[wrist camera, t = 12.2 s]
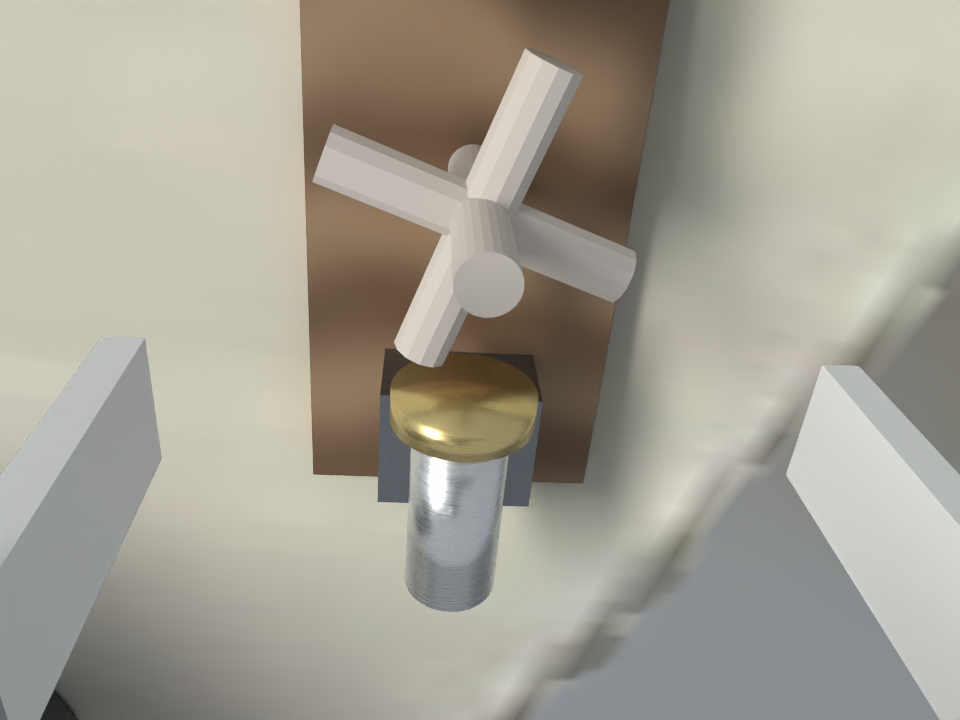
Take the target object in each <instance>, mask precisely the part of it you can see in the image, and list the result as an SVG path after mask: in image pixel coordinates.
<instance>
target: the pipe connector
mask: <svg viewBox="0 0 960 720" xmlns="http://www.w3.org/2000/svg"><path fill="white" fill-rule="evenodd" d="M582 77H583V75H582V74H581V73H580V72H578V71H577V70H575V69H574V68H572V67H570V66H568V65H567V64H565V63H563V62H561V61H559V60H557V59H555V58H553V57H551V56H549V55H547V54H545V53H542V52H540V51H538V50H535V49H532V48H529V47H527V48H525V50H524V52H523V54H522V56H521V59H520V61H519V63H518V65H517V68H516V70H515V72H514V74H513V77H512V79H511V81H510V83H509V86H508V88H507V90H506V92H505V95H504V97H503V99H502V101H501V104H500V106H499V108H498V110H497V112H496V115H495V117H494V119H493V121H492V124H491V126H490V128H489V130H488V133H487V135H486V137H485V139H484V142H483V144H482V146H481V145H477V144H470V145H466V146H463V147H461V148H459V149H458V150H457V151H456V152H455V153H454V154H453V155H452V157H451V158H450V160H449V164H448V172H446V171H444V170H441V169H439V168H437V167H434V166H432V165H430V164H427V163H425V162H422V161H420V160H418V159H415V158H413V157H411V156H408V155H406V154H403V153H401V152H399V151H396V150H394V149H392V148H389V147H387V146H385V145H382V144H380V143H377V142H375V141H373V140H370V139H368V138H366V137H363V136H361V135H358V134H356V133H354V132H351V131H349V130H347V129H344V128H342V127H339V126H337V125H335V124H333V126H332V128H331V131H330V133H329V136H328V139H327V142H326V144H325V147H324V150H323V152H322V155H321V158H320V161H319V164H318V166H317V169H316V172H315V175H314V178H313V181H312V182H314V183H316V184H319V185H321V186H324V187H326V188H329V189H331V190H334V191H336V192H339V193H341V194H343V195H346V196H348V197H351V198H353V199H356V200H358V201H361V202H363V203H366V204H368V205H371V206H373V207H376V208H378V209H381V210H383V211H386V212H388V213H391V214H393V215H396V216H398V217H401V218H403V219H406V220H408V221H411V222H413V223H416V224H418V225H421V226H423V227H426V228H428V229H431V230H433V231H436V232H438V233H441V234H442V236H441V238H440V240H439V242H438V245H437V247H436V249H435V251H434V254H433V256H432V258H431V260H430V263H429V265H428V267H427V269H426V271H425V274H424V276H423V278H422V280H421V283H420V285H419V287H418V289H417V292H416V294H415V296H414V298H413V301H412V303H411V305H410V307H409V310H408V312H407V314H406V316H405V319H404V321H403V323H402V325H401V327H400V330H399V332H398V334H397V336H396V339H395V341H394V343H395V346H396V348H397V350H398V351H399V352H400V353H401V354H402V355H403V356H404V357H406V358H407V359H409V360H411V361H413V362H415V363H417V364H419V365H423V366H427V367H432V368H433V367H438V366H442V365H443V363H444V361H445V359H446V357H447V355H448V353H449V351H450V349H451V347H452V345H453V343H454V341H455V339H456V337H457V335H458V333H459V331H460V328H461V326H462V324H463V322H464V320H465V318H466V316H467V314H468V313H470V314H472V315H474V316H478V317H482V318H493V317H497V316H501V315H503V314H505V313H507V312H509V311H510V310H512V309H513V308H514V307H515V306H516V305H517V304H518V302H519V301H520V299H521V297H522V295H523V292H524V277H523V273H522V268H521V266H523V267H525V268H528V269H530V270H533V271H535V272H538V273H540V274H543V275H545V276H548V277H550V278H553V279H555V280H558V281H560V282H563V283H565V284H568V285H570V286H573V287H575V288H578V289H580V290H583V291H585V292H588V293H590V294H593V295H595V296H598V297H600V298H603V299H605V300H608V301H610V302H614V301H616V300H618V299H619V298H620V297H621V296H622V295H623V293H624V292H625V290H626V289H627V288H628V286H629V283H630V281H631V279H632V277H633V275H634V271H635V266H636V262H637V258H636V251H633V250H631V249H629V248H626V247H624V246H621V245H619V244H617V243H614V242H612V241H610V240H607V239H605V238H603V237H600V236H598V235H595V234H593V233H591V232H588V231H586V230H584V229H581V228H579V227H576V226H574V225H572V224H569V223H567V222H565V221H562V220H560V219H558V218H555V217H553V216H550V215H548V214H546V213H543V212H541V211H539V210H536V209H534V208H531V207H529V206H527V205H524V204H522V201H523V199H524V197H525V195H526V193H527V191H528V189H529V187H530V184H531V182H532V180H533V178H534V176H535V174H536V172H537V170H538V168H539V166H540V164H541V162H542V160H543V158H544V156H545V154H546V152H547V149H548V147H549V145H550V143H551V141H552V139H553V137H554V135H555V133H556V131H557V129H558V127H559V125H560V123H561V121H562V119H563V117H564V115H565V112H566V110H567V108H568V106H569V104H570V102H571V100H572V98H573V96H574V94H575V92H576V90H577V88H578V86H579V84H580V82H581V80H582Z"/></svg>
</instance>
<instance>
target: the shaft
mask: <svg viewBox="0 0 960 720" xmlns="http://www.w3.org/2000/svg"><path fill="white" fill-rule="evenodd" d="M542 404H543V400H542V396H541V391H540V386H539V381H538V376H537V371H536V367H535V362H534V357H533V355H520V354H498V353H476V352H454V351H449V353H448V355H447V357H446V359H445V361H444V363H443V365H442V366H438V367H433V368H432V367H427V366H423V365H419V364H417V363H415V362H413V361H411V360H409V359H407V358H406V357H404V356H403V355H402V354H401V353H400V352H399V351H398V350H397V349H389V348H385V355H384V364H383V373H382V382H381V391H380V422H379V470H378V502H400V503H408V520H407V542H406V565H405V582H406V586H407V588H408V590H409V592H410V594H411V595H412V596H413V597H414V598H415V599H416V600H417V601H419V602H420V603H421V604H423V605H425V606H427V607H430V608H432V609H435V610H440V611H448V612H456V611H463V610H467V609H470V608H473V607H475V606H477V605H479V604H480V603H482V602H483V601H484V600H485V599H486V598H487V597H488V596H489V594H490V592H491V590H492V588H493V583H494V575H495V566H496V558H497V550H498V541H499V533H500V524H501V516H502V507H503V506H528V505H529V498H530V490H531V483H532V476H533V469H534V462H535V454H536V447H537V440H538V433H539V426H540V418H541V411H542Z"/></svg>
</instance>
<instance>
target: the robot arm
mask: <svg viewBox="0 0 960 720" xmlns="http://www.w3.org/2000/svg"><path fill="white" fill-rule="evenodd" d="M161 459H162V458H161V450H160V443H159V436H158V429H157V422H156V415H155V407H154V400H153V393H152V386H151V379H150V372H149V364H148V357H147V350H146V343H145V338H128V337H103V336H102V337H101V339H100V340H99V341H98V343H97V344H96V345H95V347H94V348H93V349H92V351H91V352H90V354H89V355H88V356H87V358H86V359H85V360H84V362H83V363H82V365H81V366H80V367H79V369H78V370H77V371H76V373H75V374H74V375H73V377H72V378H71V380H70V381H69V382H68V384H67V385H66V386H65V388H64V389H63V391H62V392H61V393H60V395H59V396H58V397H57V399H56V400H55V401H54V403H53V404H52V406H51V407H50V408H49V410H48V411H47V412H46V414H45V415H44V417H43V418H42V419H41V421H40V422H39V423H38V425H37V426H36V427H35V429H34V430H33V432H32V433H31V434H30V436H29V437H28V438H27V440H26V441H25V443H24V444H23V445H22V447H21V448H20V449H19V451H18V452H17V453H16V455H15V456H14V458H13V459H12V460H11V462H10V463H9V464H8V466H7V467H6V469H5V470H4V471H3V473H2V474H1V475H0V720H76V719H75V718H74V716H73V714H72V713H71V711H70V710H69V709H68V707H67V706H66V705H65V704H64V703H63V701H62V700H61V699H60V698H59V697H58V696H57V695H56V694H54V693H53V691H54V689H55V686H56V684H57V682H58V680H59V678H60V676H61V674H62V671H63V669H64V667H65V665H66V663H67V661H68V659H69V656H70V654H71V652H72V650H73V648H74V646H75V644H76V641H77V639H78V637H79V635H80V633H81V631H82V628H83V626H84V624H85V622H86V620H87V618H88V616H89V613H90V611H91V609H92V607H93V605H94V603H95V601H96V598H97V596H98V594H99V592H100V590H101V588H102V586H103V583H104V581H105V579H106V577H107V575H108V573H109V571H110V568H111V566H112V564H113V562H114V560H115V558H116V555H117V553H118V551H119V549H120V547H121V545H122V543H123V540H124V538H125V536H126V534H127V532H128V530H129V528H130V525H131V523H132V521H133V519H134V517H135V515H136V513H137V510H138V508H139V506H140V504H141V502H142V500H143V498H144V495H145V493H146V491H147V489H148V487H149V485H150V482H151V480H152V478H153V476H154V474H155V472H156V470H157V467H158V465H159V463H160V461H161ZM786 475H787V477H788V478H789V480H790V482H791V483H792V485H793V487H794V488H795V490H796V491H797V493H798V494H799V496H800V498H801V499H802V501H803V503H804V504H805V506H806V507H807V509H808V511H809V512H810V514H811V515H812V517H813V518H814V520H815V522H816V523H817V525H818V526H819V528H820V530H821V531H822V533H823V534H824V536H825V537H826V539H827V541H828V542H829V544H830V545H831V547H832V549H833V550H834V552H835V553H836V555H837V556H838V558H839V560H840V561H841V563H842V565H843V566H844V568H845V569H846V571H847V573H848V574H849V576H850V577H851V579H852V581H853V582H854V584H855V585H856V587H857V589H858V590H859V592H860V593H861V595H862V597H863V598H864V600H865V601H866V603H867V605H868V606H869V608H870V609H871V611H872V612H873V614H874V616H875V617H876V619H877V620H878V622H879V624H880V625H881V627H882V628H883V630H884V632H885V633H886V635H887V636H888V638H889V639H890V641H891V643H892V644H893V646H894V648H895V649H896V651H897V652H898V654H899V656H900V657H901V659H902V660H903V662H904V664H905V665H906V667H907V668H908V670H909V671H910V673H911V675H912V676H913V678H914V679H915V681H916V683H917V684H918V686H919V687H920V689H921V690H922V692H923V694H924V695H925V697H926V699H927V700H928V702H929V703H930V705H931V706H932V708H933V710H934V711H935V713H936V714H937V716H938V718H939V719H940V720H960V475H959V474H958V473H957V472H956V471H955V469H954V468H953V467H952V466H951V465H950V464H949V463H948V462H947V461H946V460H945V459H944V458H943V457H942V455H941V454H940V453H939V452H938V451H937V450H936V449H935V448H934V447H933V446H932V445H931V444H930V442H929V441H928V440H927V439H926V438H925V437H924V436H923V435H922V434H921V433H920V432H919V431H918V430H917V428H916V427H915V426H914V425H913V424H912V423H911V422H910V421H909V420H908V419H907V418H906V417H905V416H904V414H903V413H902V412H901V411H900V410H899V409H898V408H897V407H896V406H895V405H894V404H893V403H892V402H891V400H890V399H889V398H888V397H887V396H886V395H885V394H884V393H883V392H882V391H881V390H880V389H879V387H878V386H877V385H876V384H875V383H874V382H873V381H872V380H871V379H870V378H869V377H868V376H867V375H866V373H865V372H864V371H863V370H862V369H861V368H860V367H859V366H842V365H822V367H821V370H820V373H819V376H818V379H817V382H816V385H815V388H814V391H813V394H812V398H811V401H810V404H809V407H808V410H807V413H806V416H805V419H804V422H803V425H802V428H801V431H800V434H799V437H798V440H797V443H796V447H795V450H794V453H793V456H792V459H791V462H790V465H789V468H788V471H787V474H786Z"/></svg>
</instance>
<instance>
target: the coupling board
mask: <svg viewBox="0 0 960 720" xmlns="http://www.w3.org/2000/svg"><path fill="white" fill-rule="evenodd" d="M668 6H669V0H300V28H301V62H302V97H303V131H304V166H305V200H306V235H307V269H308V304H309V338H310V373H311V407H312V442H313V474H317V475H347V476H377V477H378V470H379V422H380V391H381V382H382V373H383V364H384V355H385V348H389V349H397V348H396V346H395V343H394V341H395V339H396V336H397V334H398V332H399V330H400V327H401V325H402V323H403V321H404V319H405V316H406V314H407V312H408V310H409V307H410V305H411V303H412V301H413V298H414V296H415V294H416V292H417V289H418V287H419V285H420V283H421V280H422V278H423V276H424V274H425V271H426V269H427V267H428V265H429V263H430V260H431V258H432V256H433V254H434V251H435V249H436V247H437V245H438V242H439V240H440V238H441V236H442V234H441V233H438V232H436V231H433V230H431V229H428V228H426V227H423V226H421V225H418V224H416V223H413V222H411V221H408V220H406V219H403V218H401V217H398V216H396V215H393V214H391V213H388V212H386V211H383V210H381V209H378V208H376V207H373V206H371V205H368V204H366V203H363V202H361V201H358V200H356V199H353V198H351V197H348V196H346V195H343V194H341V193H339V192H336V191H334V190H331V189H329V188H326V187H324V186H321V185H319V184H316V183H314V182H312V181H313V178H314V175H315V172H316V169H317V166H318V164H319V161H320V158H321V155H322V152H323V150H324V147H325V144H326V142H327V139H328V136H329V133H330V131H331V128H332V126H333V124H335V125H337V126H339V127H342V128H344V129H347V130H349V131H351V132H354V133H356V134H358V135H361V136H363V137H366V138H368V139H370V140H373V141H375V142H377V143H380V144H382V145H385V146H387V147H389V148H392V149H394V150H396V151H399V152H401V153H403V154H406V155H408V156H411V157H413V158H415V159H418V160H420V161H422V162H425V163H427V164H430V165H432V166H434V167H437V168H439V169H441V170H444V171H446V172H448V164H449V160H450V158H451V157H452V155H453V154H454V153H455V152H456V151H457V150H458V149H459V148H461V147H463V146H466V145H470V144H477V145H481V146H482V144H483V142H484V139H485V137H486V135H487V133H488V130H489V128H490V126H491V124H492V121H493V119H494V117H495V115H496V112H497V110H498V108H499V106H500V104H501V101H502V99H503V97H504V95H505V92H506V90H507V88H508V86H509V83H510V81H511V79H512V77H513V74H514V72H515V70H516V68H517V65H518V63H519V61H520V59H521V56H522V54H523V52H524V50H525V48H527V47H529V48H532V49H535V50H538V51H540V52H542V53H545V54H547V55H549V56H551V57H553V58H555V59H557V60H559V61H561V62H563V63H565V64H567V65H568V66H570V67H572V68H574V69H575V70H577V71H578V72H580V73H581V74H582V75H583V77H582V80H581V82H580V84H579V86H578V88H577V90H576V92H575V94H574V96H573V98H572V100H571V102H570V104H569V106H568V108H567V110H566V112H565V115H564V117H563V119H562V121H561V123H560V125H559V127H558V129H557V131H556V133H555V135H554V137H553V139H552V141H551V143H550V145H549V147H548V149H547V152H546V154H545V156H544V158H543V160H542V162H541V164H540V166H539V168H538V170H537V172H536V174H535V176H534V178H533V180H532V182H531V184H530V187H529V189H528V191H527V193H526V195H525V197H524V199H523V201H522V204H524V205H527V206H529V207H531V208H534V209H536V210H539V211H541V212H543V213H546V214H548V215H550V216H553V217H555V218H558V219H560V220H562V221H565V222H567V223H569V224H572V225H574V226H576V227H579V228H581V229H584V230H586V231H588V232H591V233H593V234H595V235H598V236H600V237H603V238H605V239H607V240H610V241H612V242H614V243H617V244H619V245H621V246H624V247H625V246H626V241H627V235H628V230H629V224H630V218H631V213H632V207H633V202H634V196H635V190H636V185H637V179H638V174H639V168H640V162H641V157H642V151H643V146H644V140H645V134H646V129H647V123H648V118H649V112H650V106H651V101H652V95H653V90H654V84H655V79H656V73H657V67H658V62H659V56H660V51H661V45H662V39H663V34H664V28H665V23H666V17H667V11H668ZM521 268H522V273H523V277H524V292H523V295H522V297H521V299H520V301H519V302H518V304H517V305H516V306H515V307H514V308H513V309H512V310H510V311H509V312H507V313H505V314H503V315H501V316H497V317H493V318H482V317H478V316H474V315H472V314H470V313H468V314H467V316H466V318H465V320H464V322H463V324H462V326H461V328H460V331H459V333H458V335H457V337H456V339H455V341H454V343H453V345H452V347H451V349H450V351H454V352H476V353H498V354H520V355H533V357H534V362H535V367H536V371H537V376H538V381H539V386H540V391H541V396H542V400H543V404H542V411H541V418H540V426H539V433H538V440H537V447H536V454H535V462H534V469H533V476H532V482H558V483H583V481H584V476H585V470H586V464H587V459H588V453H589V448H590V442H591V436H592V431H593V425H594V420H595V414H596V409H597V403H598V397H599V392H600V386H601V381H602V375H603V369H604V364H605V358H606V353H607V347H608V341H609V336H610V330H611V325H612V319H613V313H614V308H615V302H616V301H614V302H610V301H608V300H605V299H603V298H600V297H598V296H595V295H593V294H590V293H588V292H585V291H583V290H580V289H578V288H575V287H573V286H570V285H568V284H565V283H563V282H560V281H558V280H555V279H553V278H550V277H548V276H545V275H543V274H540V273H538V272H535V271H533V270H530V269H528V268H525V267H523V266H521Z"/></svg>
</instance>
